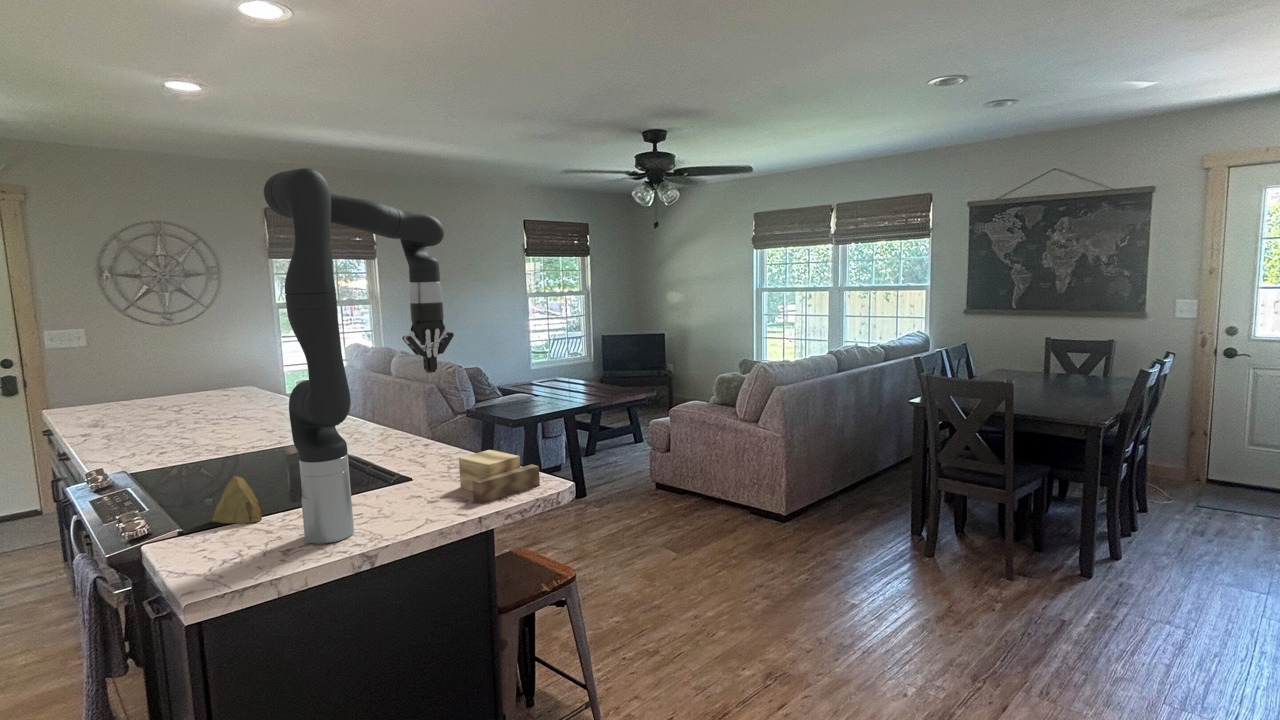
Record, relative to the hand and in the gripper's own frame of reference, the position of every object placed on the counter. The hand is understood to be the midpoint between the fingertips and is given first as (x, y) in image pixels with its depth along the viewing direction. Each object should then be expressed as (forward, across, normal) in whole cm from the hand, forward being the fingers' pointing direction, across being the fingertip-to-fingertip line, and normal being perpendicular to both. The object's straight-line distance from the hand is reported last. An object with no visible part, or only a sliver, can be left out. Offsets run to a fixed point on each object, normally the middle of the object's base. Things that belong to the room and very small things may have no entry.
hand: (431, 372), depth 164 cm
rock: (+31, -39, +20) cm, 54 cm away
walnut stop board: (+31, +12, -12) cm, 35 cm away
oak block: (+31, +12, -4) cm, 34 cm away
